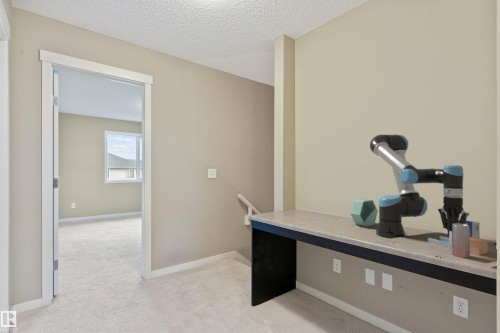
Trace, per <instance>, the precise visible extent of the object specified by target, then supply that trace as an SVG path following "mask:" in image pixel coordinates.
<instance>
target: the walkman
mask: <svg viewBox="0 0 500 333" xmlns="http://www.w3.org/2000/svg"><path fill="white" fill-rule="evenodd" d="M459 221H460V219H459ZM465 224H466V225H469V228H470V237H476V238H480V233H481V232H480V222H477V221H471V220H466V222H465ZM480 239H481V238H480Z"/></svg>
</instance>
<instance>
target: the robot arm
mask: <svg viewBox="0 0 500 333" xmlns="http://www.w3.org/2000/svg"><path fill="white" fill-rule="evenodd" d="M369 148H370V150H371V152H372V153H373V154H374V155H376V156H379V157H380V158H381V159H382V160H384V161H385V163H387V164H388V165H389V166H390V167H391V169H392V173H393V176H394V180H395V183H396V186H397V190H398V194H390V195H382V196H380V197H379V200H378V207H379V209H378V213H379V215H378V216H379V221H378V223H377V228H376V232H375V234H376V235H377V236H379V237H383V238H387V239H389V238H390V239H396V238H405V237H406V232H405V229H404V226H403V223H402V222H403V221H402V218H410V217H413V218H417V217H422V216H424V215H425V214H426V212H427V210H428V201H427V200H426V199H425V198H424V197H422V196H420V193H419V192H418V191H417V190H415V186H414V185H415V184H442V185H443V198H442V199H443V202H442V204H443V206H442V207H441V208H438V209H437V210H438V212H439V215H440V219H441V222H442V223H441V224H442V227H443V229H446V230H447V238H449V243H451V244H452V224H454V223H458V224H465V222H466V221H467V219H468V217H469V216H470V213H469V212H466V211H465V210H464V207H463V206H464V198H463V197H464V168H463V166H462V165H453V164H452V165H448V164H447V165H444V166H443V168H442V169H441V168H417V167H415V166H414V165H412V164H411V163H410V162H409V161H407V159H406V156H405V155H406V153H407V150H408V148H409V140H408V139H407V138H406V136H404V135H402V134H397V133H395V134H378V135H375V136H374V137H373V138H371V140H370V142H369ZM459 220H460V221H459Z"/></svg>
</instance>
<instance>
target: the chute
mask: <svg viewBox="0 0 500 333" xmlns="http://www.w3.org/2000/svg"><path fill="white" fill-rule="evenodd" d="M427 242H428V243H430V244H432V245H436V246H439V247H440V246H441V247H443V248H446V249H447V248H448V249H450V250H452V244H451V243H449V237H445V236H443V235H441V236H439V240H438V239H436V238H431V237H427Z"/></svg>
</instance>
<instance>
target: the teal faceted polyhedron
mask: <svg viewBox="0 0 500 333" xmlns="http://www.w3.org/2000/svg"><path fill="white" fill-rule="evenodd" d="M378 213H379V209H378V208H377V206H376V204H375V201H374V200H373V199H368V198H367V199H365V198H360V199H353V202H352V206H351V211H350V216H351V218H352V219H353V220H352V221H353V222H354V224H355V225H356V226H362V227H369V226H375V224H376V220H377V216H378Z"/></svg>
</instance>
